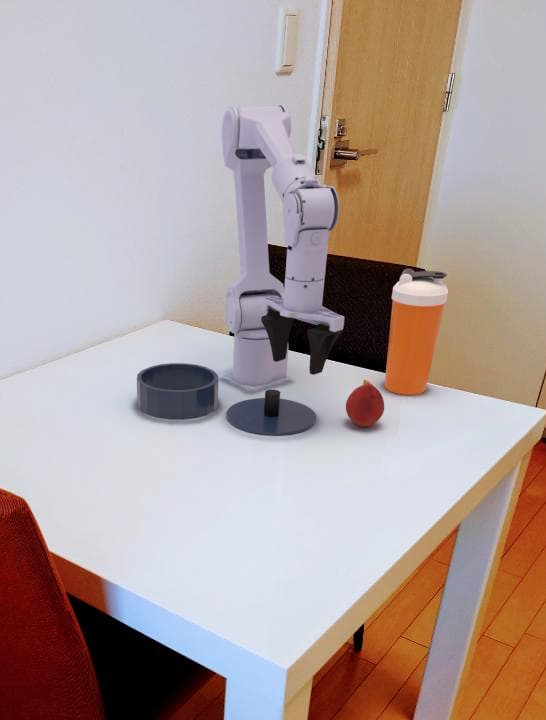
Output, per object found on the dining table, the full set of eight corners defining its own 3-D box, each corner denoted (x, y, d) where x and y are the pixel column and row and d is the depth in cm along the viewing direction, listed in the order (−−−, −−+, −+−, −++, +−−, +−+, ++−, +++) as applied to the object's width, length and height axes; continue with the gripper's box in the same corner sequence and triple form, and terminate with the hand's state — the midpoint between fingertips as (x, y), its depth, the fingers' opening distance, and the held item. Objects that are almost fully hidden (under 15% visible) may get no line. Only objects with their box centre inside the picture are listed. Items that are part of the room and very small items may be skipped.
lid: (275, 397, 139) (277, 370, 137) (334, 425, 129) (337, 396, 126) (208, 416, 132) (209, 388, 130) (265, 447, 122) (267, 416, 120)
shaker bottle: (432, 399, 138) (454, 279, 128) (379, 395, 140) (396, 277, 129) (429, 380, 146) (448, 267, 135) (378, 377, 147) (394, 264, 137)
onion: (378, 421, 130) (385, 374, 126) (383, 436, 125) (390, 387, 121) (341, 420, 131) (347, 373, 126) (345, 435, 126) (351, 386, 122)
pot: (186, 386, 144) (186, 358, 141) (233, 410, 134) (234, 380, 132) (122, 403, 137) (121, 373, 135) (167, 429, 128) (167, 397, 125)
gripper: (250, 272, 121) (245, 360, 128) (325, 291, 111) (315, 385, 118) (282, 264, 124) (276, 350, 132) (357, 282, 115) (346, 374, 122)
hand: (297, 366), depth 125 cm, fingers open, 7 cm apart
